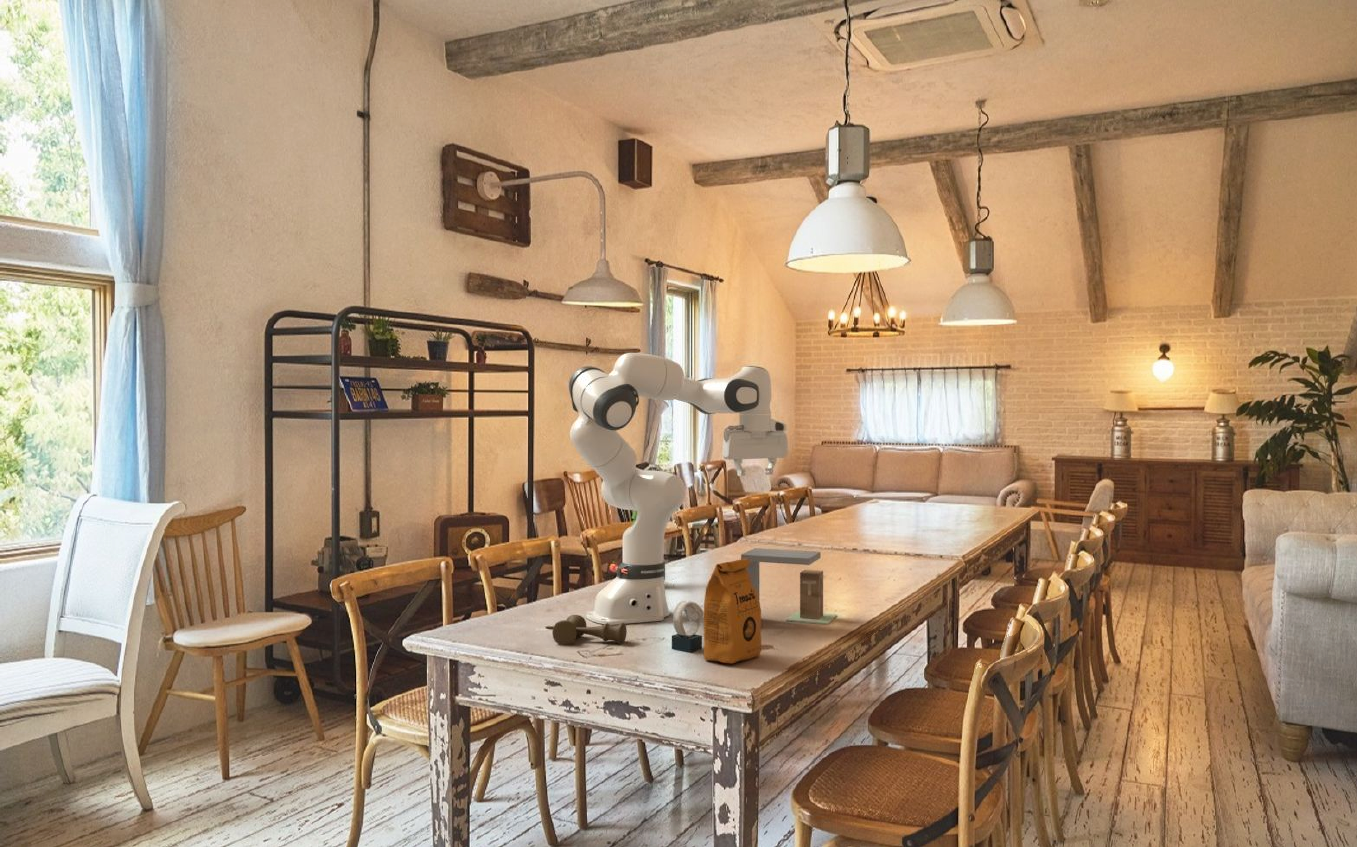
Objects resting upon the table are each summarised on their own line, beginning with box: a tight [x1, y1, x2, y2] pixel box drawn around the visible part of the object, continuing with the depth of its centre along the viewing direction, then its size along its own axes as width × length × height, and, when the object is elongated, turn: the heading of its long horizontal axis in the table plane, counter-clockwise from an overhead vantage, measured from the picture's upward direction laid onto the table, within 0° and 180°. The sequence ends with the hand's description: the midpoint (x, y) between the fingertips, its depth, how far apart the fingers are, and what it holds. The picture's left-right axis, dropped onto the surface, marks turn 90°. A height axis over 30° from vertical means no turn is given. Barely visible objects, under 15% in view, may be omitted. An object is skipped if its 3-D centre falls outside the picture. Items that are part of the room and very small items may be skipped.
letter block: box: [799, 569, 824, 620], centre depth 250 cm, size 5×5×12 cm
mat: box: [785, 610, 838, 625], centre depth 250 cm, size 11×11×1 cm
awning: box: [740, 547, 821, 599], centre depth 242 cm, size 12×18×19 cm
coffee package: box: [703, 558, 762, 664], centre depth 210 cm, size 10×12×22 cm
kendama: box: [544, 614, 628, 646], centre depth 226 cm, size 6×10×20 cm
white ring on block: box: [671, 600, 704, 654], centre depth 219 cm, size 6×8×11 cm
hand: (755, 475), depth 262 cm, fingers open, 8 cm apart
